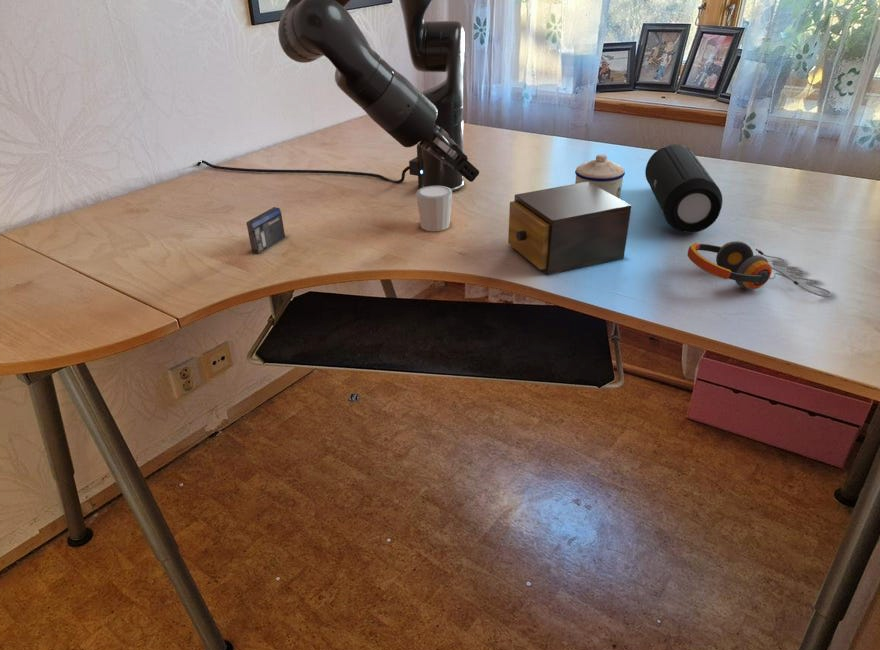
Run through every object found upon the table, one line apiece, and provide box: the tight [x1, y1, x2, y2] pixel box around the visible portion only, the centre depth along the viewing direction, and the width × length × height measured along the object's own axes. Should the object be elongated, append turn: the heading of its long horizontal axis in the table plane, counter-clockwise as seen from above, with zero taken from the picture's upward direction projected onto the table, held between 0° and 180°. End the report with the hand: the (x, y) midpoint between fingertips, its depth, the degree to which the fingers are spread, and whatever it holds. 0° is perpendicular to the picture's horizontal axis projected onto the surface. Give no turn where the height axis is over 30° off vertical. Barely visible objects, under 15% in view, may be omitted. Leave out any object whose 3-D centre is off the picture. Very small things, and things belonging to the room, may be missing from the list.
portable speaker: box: [644, 144, 723, 233], centre depth 125 cm, size 26×10×10 cm, turn 172°
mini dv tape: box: [245, 206, 286, 254], centre depth 124 cm, size 8×2×6 cm, turn 151°
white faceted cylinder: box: [416, 186, 453, 232], centre depth 127 cm, size 7×7×7 cm
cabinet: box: [513, 182, 632, 276], centre depth 113 cm, size 15×13×10 cm
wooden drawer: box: [507, 200, 550, 271], centre depth 112 cm, size 15×12×8 cm
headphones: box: [687, 240, 833, 298], centre depth 102 cm, size 17×5×20 cm
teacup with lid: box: [574, 153, 626, 199], centre depth 127 cm, size 12×9×12 cm
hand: (473, 176), depth 106 cm, fingers closed
